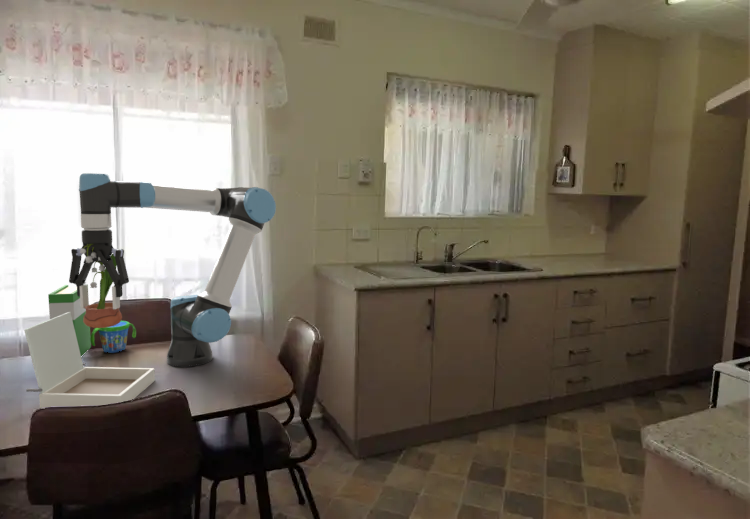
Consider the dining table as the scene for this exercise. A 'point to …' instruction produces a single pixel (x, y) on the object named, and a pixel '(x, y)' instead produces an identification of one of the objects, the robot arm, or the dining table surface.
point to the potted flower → (101, 298)
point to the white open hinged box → (77, 369)
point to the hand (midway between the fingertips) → (100, 307)
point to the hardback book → (70, 302)
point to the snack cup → (113, 336)
